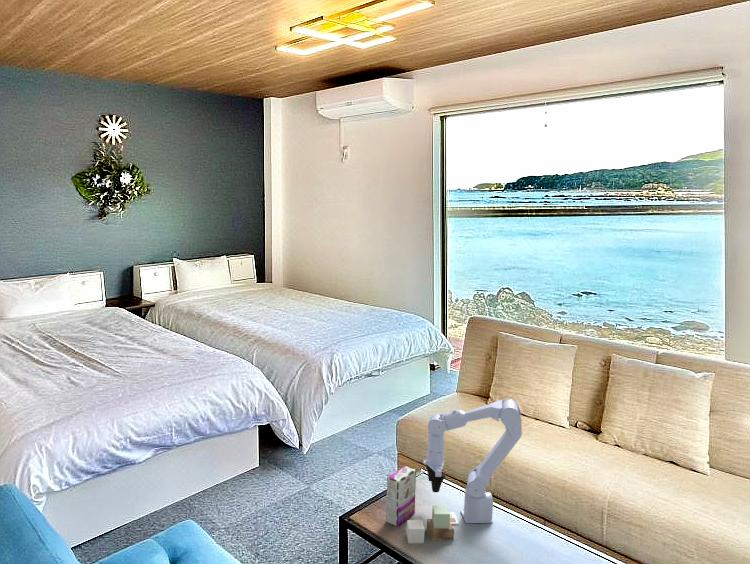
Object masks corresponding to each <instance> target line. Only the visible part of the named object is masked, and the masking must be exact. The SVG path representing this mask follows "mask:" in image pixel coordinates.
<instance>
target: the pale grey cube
mask: <svg viewBox="0 0 750 564" xmlns="http://www.w3.org/2000/svg"><path fill="white" fill-rule="evenodd" d="M406 538H407V543H408V544H425V526H424V522H423V519H409V520H408V519H406Z"/></svg>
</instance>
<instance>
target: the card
mask: <svg viewBox="0 0 750 564" xmlns="http://www.w3.org/2000/svg"><path fill="white" fill-rule="evenodd" d="M449 512H450V523H451V525H452V526H454V525H455V526H456V525H459V522H458V519H457V516H456V513H455V511H449ZM459 526H460V525H459Z"/></svg>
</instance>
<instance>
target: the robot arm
mask: <svg viewBox="0 0 750 564" xmlns="http://www.w3.org/2000/svg"><path fill="white" fill-rule="evenodd" d="M521 414H522V413H521V410H520V406H519V405H518V402H517V401H516V400H515V399H513V398H505V399H504V400H502V399H501V400H496V401H494V402H492V403H489V404H486V405H483V406H480V407H477V408H473V409H470V410H468V411H467V410H466V411H464V410H462V409H457V408H454V409H452V411H450V412H447V413H446V412H445V413H443V412H441V413H439V414H437V413H436V414H432V415H431V416H430V418H429V420H428V423H427V430H428V436H427V446H426V448H427V450H426V459H425V460H423V462H422V463H423V465H425V467H426V471H427V478H428V482H430V483H431V490H432V493H440V490H441V487H442V483H443V481H444V479H446V473H444V472H443V471H442V470H443V467H444V463H445V462H444V454H445V453H444V452H445V450H444V449H445V435H444V434H445V432H446V431H447V432H448V431H452V430H455V429H460V428H464V427H465V426H466V425H467V423H468V422H473V421H478V420H483V419H488V418H491V419H493V420H495V421H496V422H499V421H501V423H502V424H503V426H504V428H505V432H504V433H503V434H502V435H501V437H500V438H499V439H498V441H497V442H496V443H495V444H494V446H493V447H492V449H490V451H489V453H488V454H487V455H486V456H485V458H484V459H483V460H482V462H481V463H480V464H477V465H476V467H475V468H473V469H471V470H469V471H468V473H467V481H466V486H465V487H466V488H465V490H464V502H463V503H464V505H463V508H461V509H460V513H461V516H462V518H463V521H464V523H465V524H493V511H494V510H493V509H494V500H493V495H492V492H490V491H486V489H487V486H488V485H489V484H490V480H491V478H492V477H493V474H494V473H495V472H496V470H498V469H499V467H500V465H501V464H502V463H503V461H504V460H505V459H506V458H507V456H508V455H509V454H510V452H511V451H512V449H513V448H514V447H515V445H517V443H518V441H519V440H520V439H521V437H522V435H523V434H522V422H523V420H522V415H521ZM442 472H443V473H442Z"/></svg>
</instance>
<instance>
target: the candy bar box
mask: <svg viewBox="0 0 750 564" xmlns="http://www.w3.org/2000/svg"><path fill="white" fill-rule="evenodd" d="M416 478H417V470H416V469H415V468H412V467H409V466H407V465H404V466H403V467H400V469H397V471H395V472H393V473H392V474H390V475H389V476H387V477H386V519H385V520H386V522H385V523H388V524H390V525H392V526H394V527H399V526H400V525H401V524H403V523H404V522H405V521H407V520H408V519H409V518H410V517H412V516H413V515H414V514H415V513H416V512H415V511H416V484H417V482H416V480H417V479H416Z"/></svg>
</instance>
